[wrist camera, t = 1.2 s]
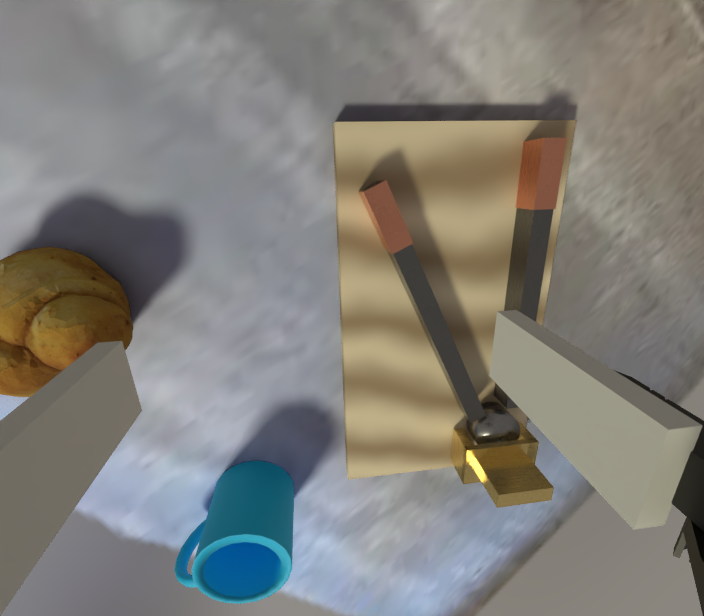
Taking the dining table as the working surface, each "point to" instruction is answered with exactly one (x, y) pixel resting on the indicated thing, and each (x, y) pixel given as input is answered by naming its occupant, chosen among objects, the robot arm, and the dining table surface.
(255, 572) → the mug
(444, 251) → the board
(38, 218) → the dining table surface
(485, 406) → the tong fixed
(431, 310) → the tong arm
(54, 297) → the bread roll
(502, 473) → the yellow stepped block
